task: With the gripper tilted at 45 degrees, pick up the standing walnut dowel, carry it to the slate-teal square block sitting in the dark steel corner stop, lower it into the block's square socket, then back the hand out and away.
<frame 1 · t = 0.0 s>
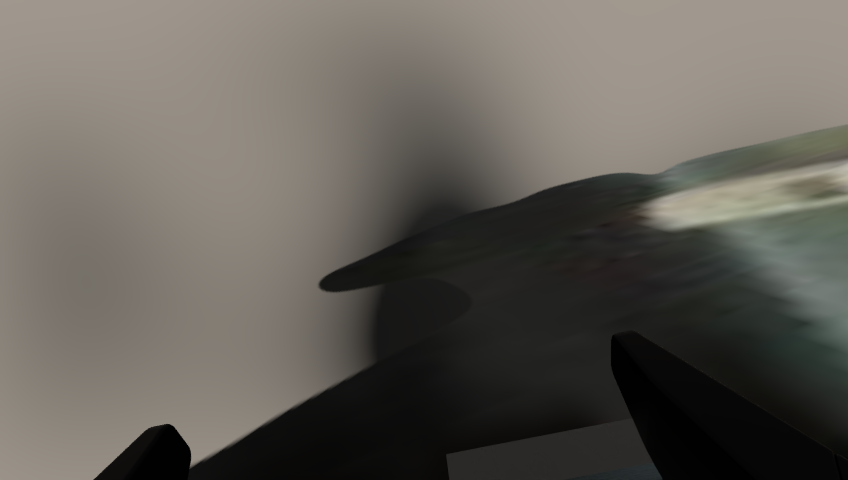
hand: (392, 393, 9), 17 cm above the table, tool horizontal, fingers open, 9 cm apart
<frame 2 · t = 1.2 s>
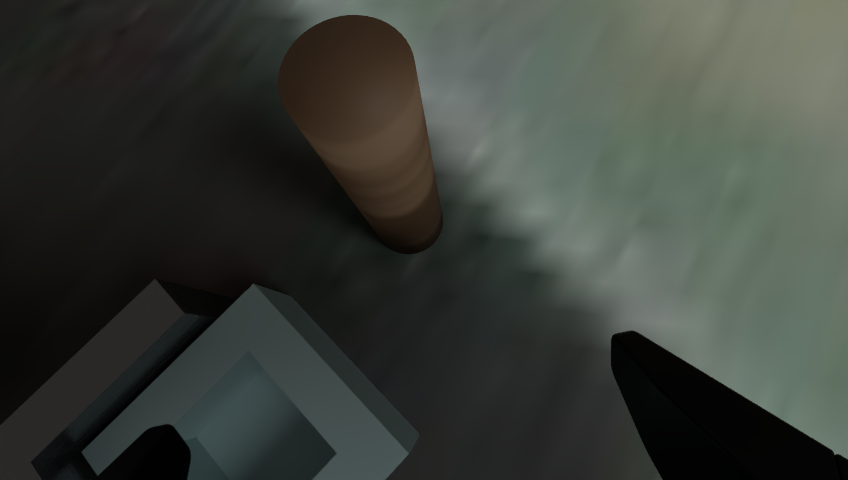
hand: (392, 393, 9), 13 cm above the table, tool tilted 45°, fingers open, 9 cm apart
socket block: (284, 433, 22), on the table
corner stop: (281, 434, 22), on the table
dowel: (409, 221, 24), on the table
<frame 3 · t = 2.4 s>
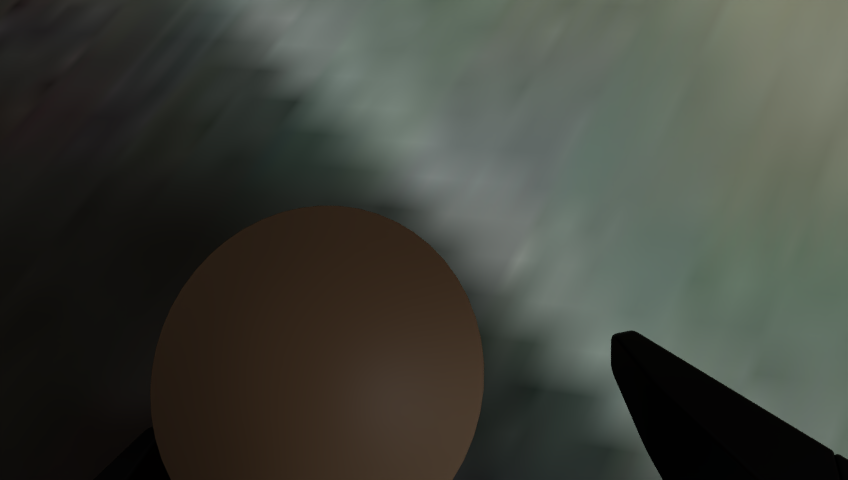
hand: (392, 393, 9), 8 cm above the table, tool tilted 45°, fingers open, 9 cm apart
dowel: (425, 362, 17), on the table
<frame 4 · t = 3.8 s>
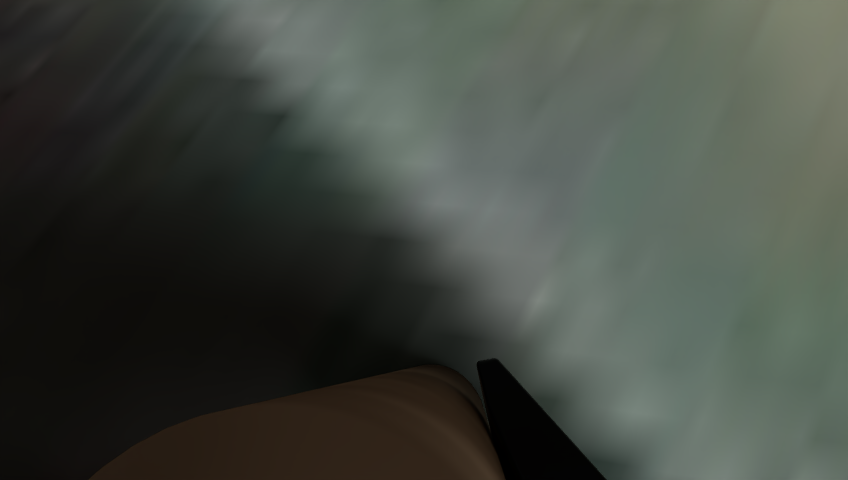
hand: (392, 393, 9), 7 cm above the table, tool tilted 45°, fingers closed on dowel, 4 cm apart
dowel: (431, 420, 15), on the table, touching gripper
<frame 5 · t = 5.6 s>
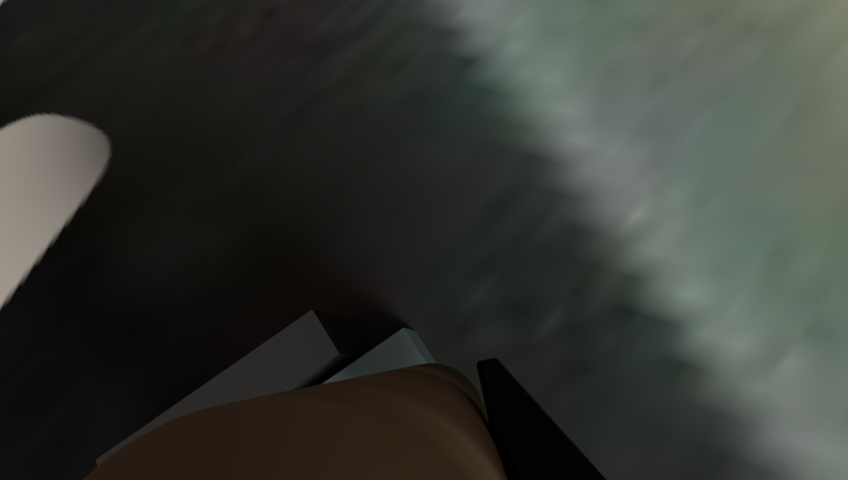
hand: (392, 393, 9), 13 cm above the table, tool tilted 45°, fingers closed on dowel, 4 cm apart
socket block: (387, 473, 21), on the table
corner stop: (386, 475, 21), on the table
dowel: (431, 418, 15), point 7 cm above the table, touching gripper
when the fingers open (8 cm above the table, at t = 7.5 s): dowel drops 1 cm, resting on socket block.
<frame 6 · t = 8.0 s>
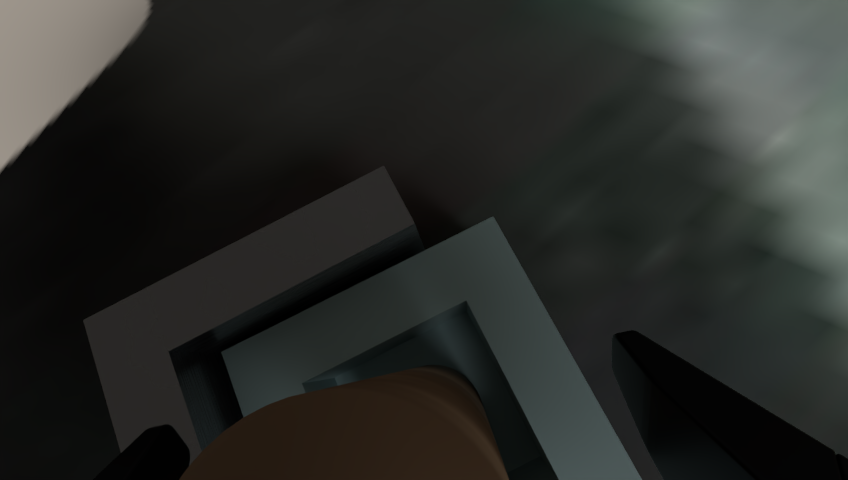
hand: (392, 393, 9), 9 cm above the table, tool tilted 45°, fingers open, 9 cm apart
socket block: (435, 411, 17), on the table, touching dowel
corner stop: (434, 413, 17), on the table
dowel: (434, 415, 16), point 1 cm above the table, touching socket block
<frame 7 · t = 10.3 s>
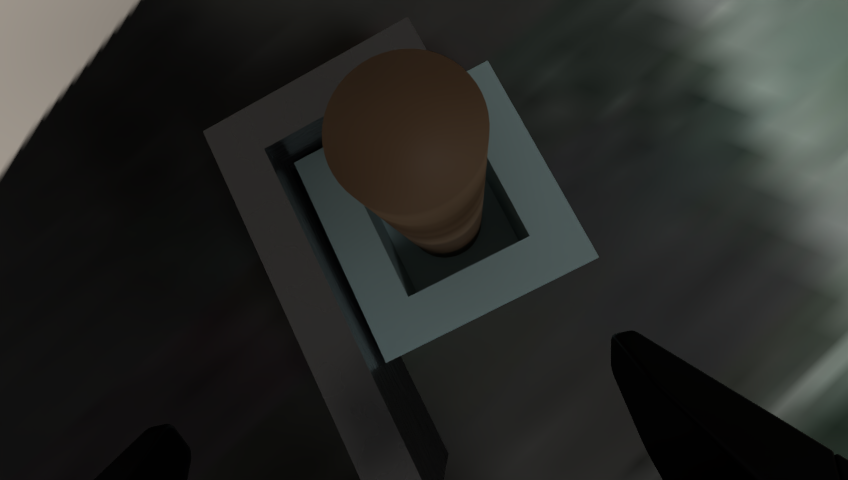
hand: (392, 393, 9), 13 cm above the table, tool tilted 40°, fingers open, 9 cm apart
socket block: (445, 224, 23), on the table, touching dowel
corner stop: (445, 222, 23), on the table
dowel: (444, 221, 22), point 1 cm above the table, touching socket block
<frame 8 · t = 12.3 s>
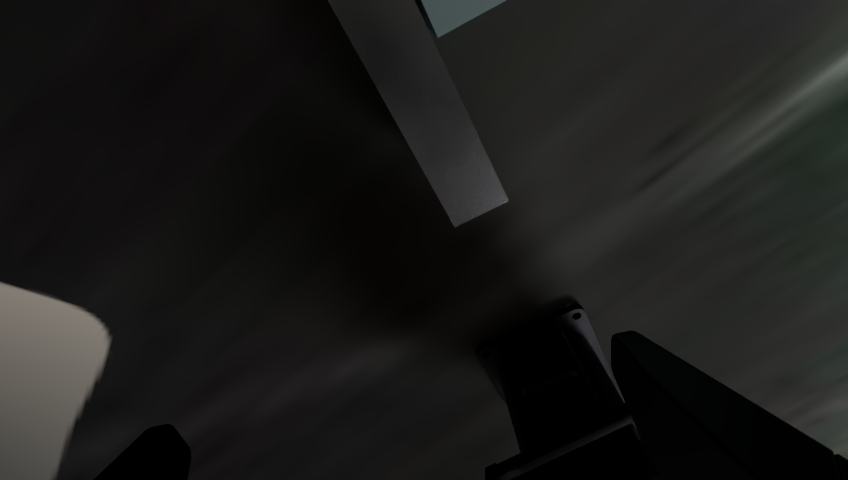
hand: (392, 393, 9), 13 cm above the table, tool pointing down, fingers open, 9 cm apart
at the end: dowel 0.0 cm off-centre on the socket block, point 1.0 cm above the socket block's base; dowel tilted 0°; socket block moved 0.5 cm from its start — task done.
